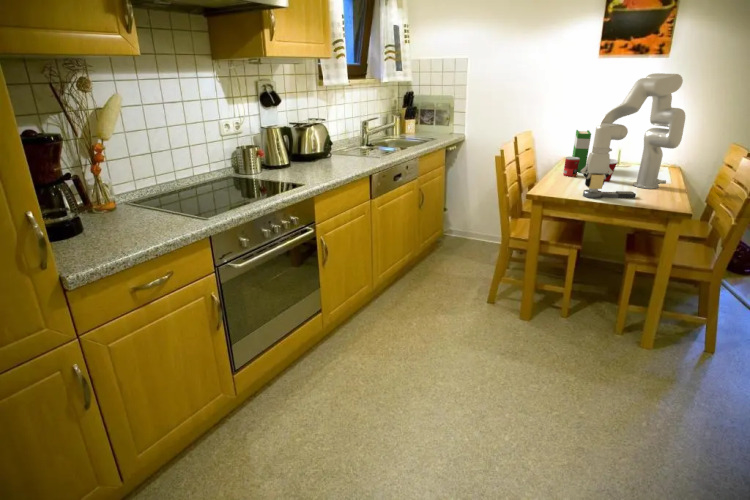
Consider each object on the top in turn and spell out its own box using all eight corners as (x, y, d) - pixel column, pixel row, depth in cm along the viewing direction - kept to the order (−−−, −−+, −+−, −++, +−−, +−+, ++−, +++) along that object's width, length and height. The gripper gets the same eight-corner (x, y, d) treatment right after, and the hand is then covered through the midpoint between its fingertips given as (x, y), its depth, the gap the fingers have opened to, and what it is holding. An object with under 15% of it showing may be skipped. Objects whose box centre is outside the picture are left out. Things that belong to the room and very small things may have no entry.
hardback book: (570, 166, 301) (576, 129, 292) (582, 167, 299) (588, 130, 290) (572, 172, 286) (578, 133, 277) (584, 172, 284) (591, 134, 275)
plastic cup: (590, 180, 265) (594, 160, 260) (598, 177, 272) (601, 157, 267) (610, 183, 257) (614, 162, 253) (617, 180, 264) (621, 160, 260)
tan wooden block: (597, 186, 234) (600, 172, 231) (601, 188, 228) (604, 175, 226) (585, 185, 235) (588, 172, 232) (589, 188, 229) (591, 175, 226)
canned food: (575, 177, 272) (577, 159, 268) (561, 175, 277) (564, 158, 273) (578, 175, 278) (581, 157, 274) (565, 173, 282) (567, 156, 278)
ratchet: (585, 198, 230) (588, 186, 227) (580, 193, 238) (582, 181, 236) (636, 199, 227) (639, 187, 225) (629, 194, 235) (632, 182, 233)
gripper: (615, 149, 227) (608, 184, 234) (580, 149, 229) (574, 184, 236) (621, 152, 220) (614, 188, 227) (584, 151, 222) (578, 187, 229)
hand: (593, 185), depth 231 cm, fingers closed on tan wooden block, 6 cm apart
